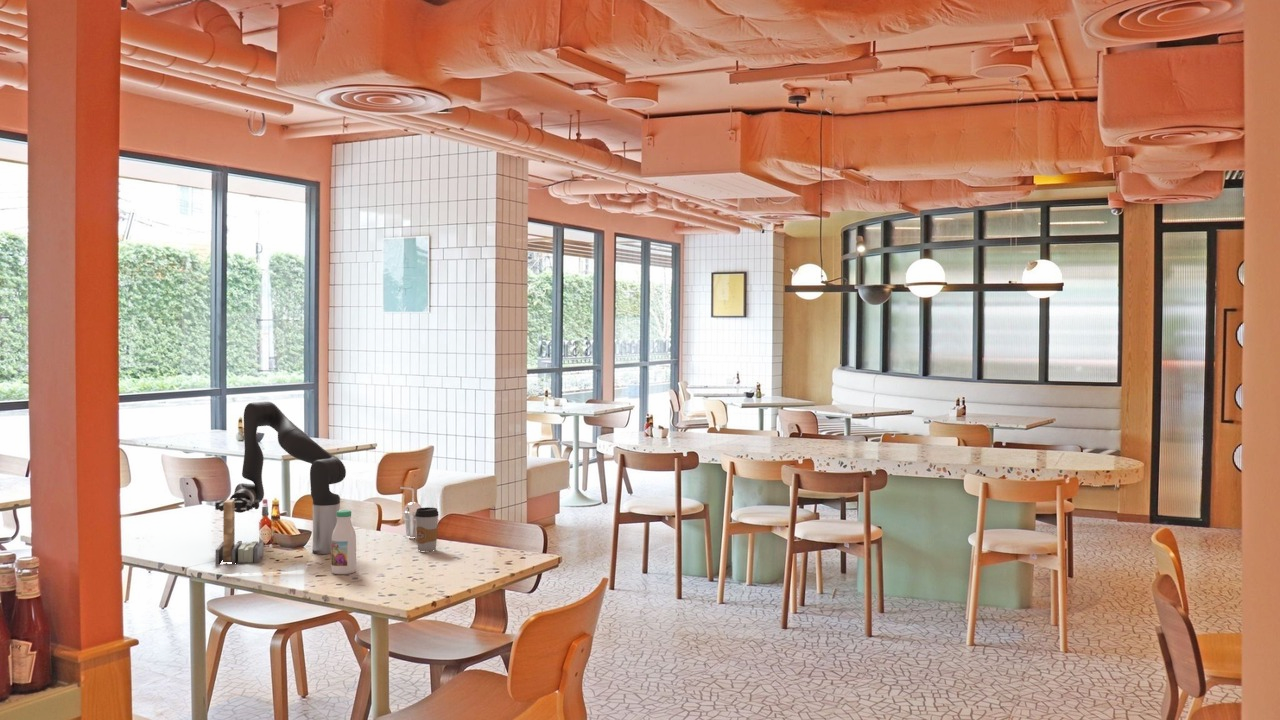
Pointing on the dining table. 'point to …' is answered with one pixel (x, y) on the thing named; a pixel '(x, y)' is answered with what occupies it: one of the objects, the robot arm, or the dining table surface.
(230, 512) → the oak block
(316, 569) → the dining table surface
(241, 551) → the pale green grooved block
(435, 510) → the coffee cup
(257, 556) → the sheet rack
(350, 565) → the milk bottle
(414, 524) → the cup with straw
